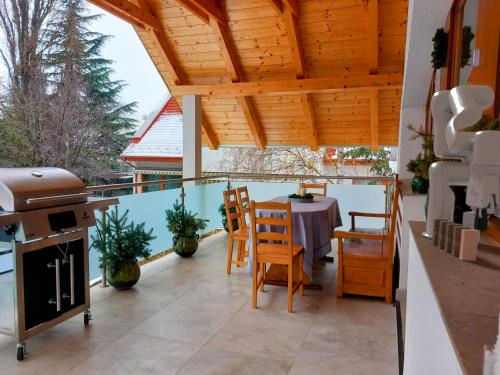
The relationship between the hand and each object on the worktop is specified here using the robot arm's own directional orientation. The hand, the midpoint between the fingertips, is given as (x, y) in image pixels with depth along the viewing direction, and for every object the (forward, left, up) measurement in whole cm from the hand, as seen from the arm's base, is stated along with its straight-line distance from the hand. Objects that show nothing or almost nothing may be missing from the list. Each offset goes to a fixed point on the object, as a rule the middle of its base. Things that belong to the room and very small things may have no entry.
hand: (480, 229), depth 118 cm
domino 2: (-20, -4, -11) cm, 23 cm away
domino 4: (-10, -2, -11) cm, 15 cm away
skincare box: (-34, +10, -11) cm, 37 cm away
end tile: (-6, -1, -11) cm, 13 cm away
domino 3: (-15, -3, -11) cm, 19 cm away
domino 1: (-25, -4, -11) cm, 28 cm away
